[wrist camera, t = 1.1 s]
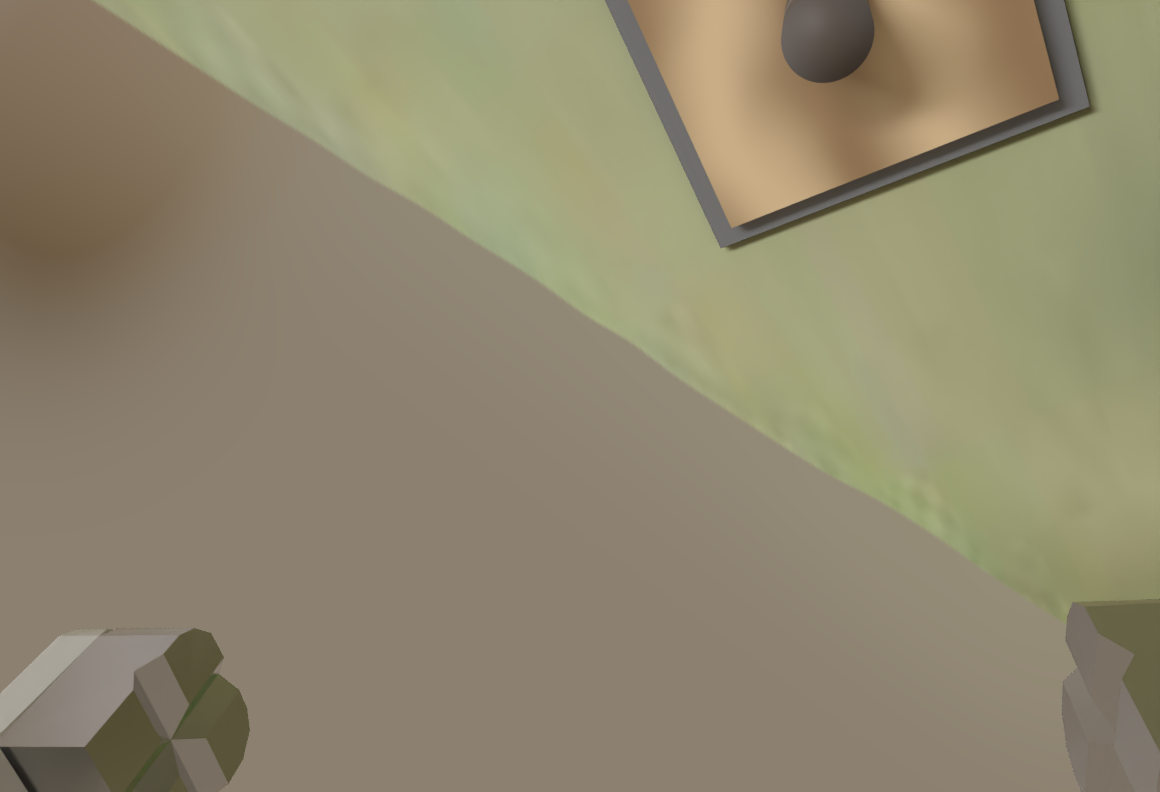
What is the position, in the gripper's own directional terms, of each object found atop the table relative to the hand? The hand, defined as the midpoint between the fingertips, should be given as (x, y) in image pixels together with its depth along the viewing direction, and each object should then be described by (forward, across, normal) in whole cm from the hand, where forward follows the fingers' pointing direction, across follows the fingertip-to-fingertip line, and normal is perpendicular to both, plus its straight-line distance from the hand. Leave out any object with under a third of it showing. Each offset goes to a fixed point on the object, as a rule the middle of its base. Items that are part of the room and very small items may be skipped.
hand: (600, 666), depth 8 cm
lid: (+31, -4, -3) cm, 31 cm away
